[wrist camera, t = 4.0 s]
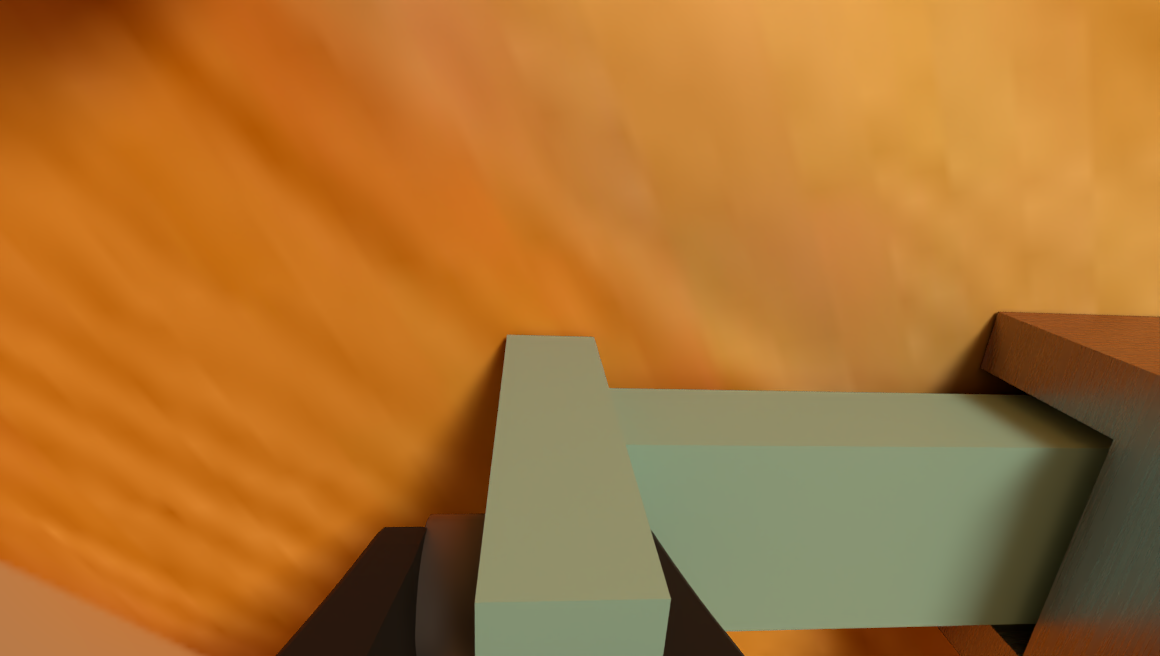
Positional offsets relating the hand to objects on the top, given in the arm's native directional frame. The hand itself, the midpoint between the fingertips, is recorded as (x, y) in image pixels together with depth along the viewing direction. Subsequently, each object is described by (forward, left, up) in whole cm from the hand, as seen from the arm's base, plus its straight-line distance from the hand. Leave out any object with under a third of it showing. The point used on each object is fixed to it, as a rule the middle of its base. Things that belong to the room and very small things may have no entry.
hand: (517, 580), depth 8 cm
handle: (-5, 0, -3) cm, 6 cm away
